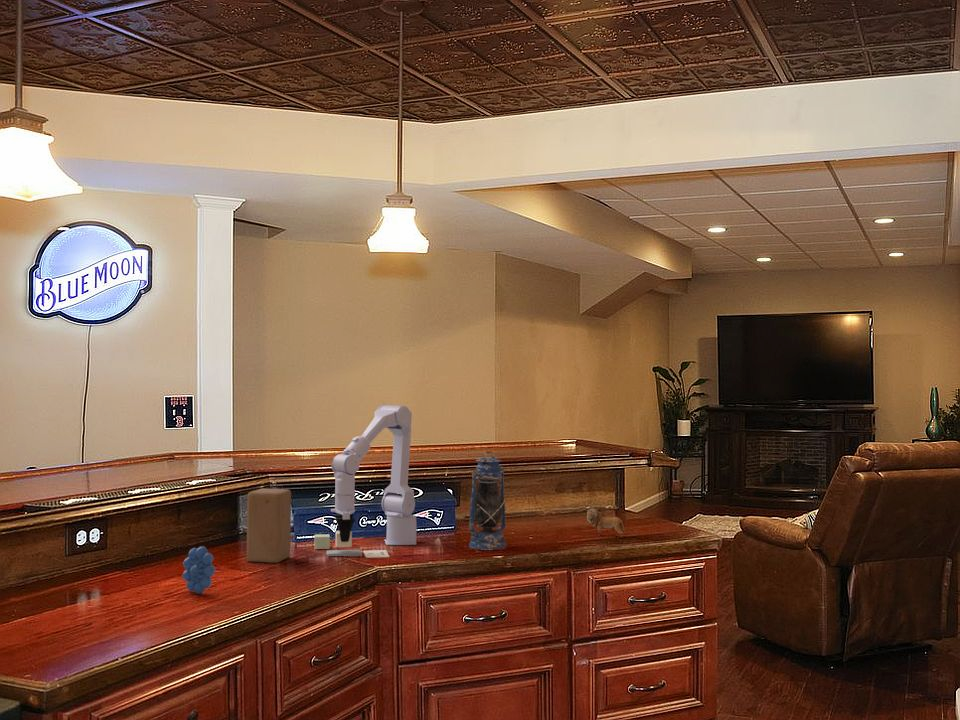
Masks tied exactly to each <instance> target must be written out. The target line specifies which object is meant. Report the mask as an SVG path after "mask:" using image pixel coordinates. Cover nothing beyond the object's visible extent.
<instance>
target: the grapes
mask: <svg viewBox="0 0 960 720" xmlns="http://www.w3.org/2000/svg"><path fill="white" fill-rule="evenodd" d="M213 561H214V556H213V554H212V553H210V552H208V549H207V547H205V546H204V545H202V546H199V547H197V548H196V547H193V548H191V549H190V550H189V552H188V556H187V557H186V558H185V559H184V560H183V562H182V563H183V564H182V566H183V567H184V568H185V570H184V571H183V573H182V579H183V580H184V581H185V582H187V583H186V589H187V590H188V591H190V592H194V593H195V594H197V595H200V594H201V595H202V593H203V592H204V591H205V589H209V588H210V587H211V586H212V583H213V580H212V578H211V577H213V576H214V574H215V573H216V568H215V566H214V565H213V564H212V563H213Z"/></svg>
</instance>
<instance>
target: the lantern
mask: <svg viewBox="0 0 960 720" xmlns="http://www.w3.org/2000/svg"><path fill="white" fill-rule="evenodd" d="M489 453H490V457H487V455H488V454H489ZM475 461H476V462H477V465H476V467H475V469H474V470H472V472H471V475H472V480H471V481H472V482H471V483H472V484H471V494H470V506H469V507H470V510H469V523H468V524H469V525H468V532H469V534H470V536H471V537H470V541H469V544H468V545H469V547H471V548H474V549H481V550H493V549H500V548H504V547H505V546H507V544H506V541H505V534H503V533H502V532H503V531H504V530H505V528H506V523H507V522H506V504H505V503H506V499H505V478H504V476H505V475H504V473H505V468H504V467H503V466H500V462H501V461H502V460H501V459H499V458H498V457H496V456H494V455H493V452H492V451H485V453H484V456H482V457H479V458H478V459H476V460H475ZM498 480H499V486H498ZM477 481H478V487H477ZM475 521H476V523H477V524H476V527H477V528H479V529H478V531H476V530H475V527H474V526H475ZM499 522H500V526H499V525H498V523H499ZM480 528H481V529H480ZM495 528H496V529H495Z"/></svg>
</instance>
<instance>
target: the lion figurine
mask: <svg viewBox="0 0 960 720" xmlns="http://www.w3.org/2000/svg"><path fill="white" fill-rule="evenodd" d="M586 519H587V521H588V523H590V524H591V525H592V527H594V528H597V533H598V532H601V531H602V532H603V529H611V528H614V529H615V531H616V532H617V533H620V534H623V535H625V534H627V533H626V530H625V525H624V522H623V521H622V519H621V518H620V517H617V516H614V517H608V516H606V515H605V514H604V513H603V512H601V511H599V510H597V509H595V508H590V509H588V510H587V513H586ZM621 528H622V529H621ZM624 533H625V534H624ZM620 534H619V535H620Z"/></svg>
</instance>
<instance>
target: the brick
mask: <svg viewBox="0 0 960 720" xmlns="http://www.w3.org/2000/svg"><path fill="white" fill-rule="evenodd" d="M352 537H353V532H352V531H351V532H350V537H349V541H348V542H341V538H340V531H339V530H335V547H336V548H352V547H353V545H352V543H353V542H352V541H353V539H352Z"/></svg>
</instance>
